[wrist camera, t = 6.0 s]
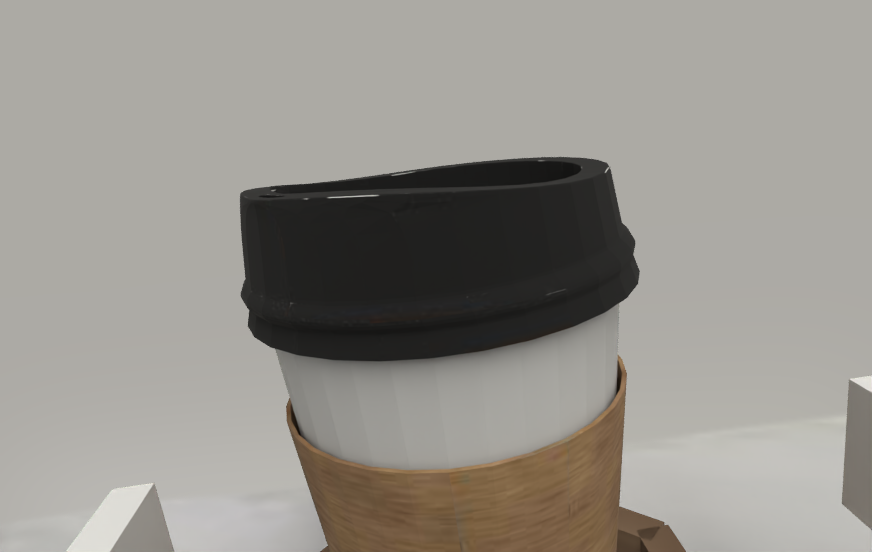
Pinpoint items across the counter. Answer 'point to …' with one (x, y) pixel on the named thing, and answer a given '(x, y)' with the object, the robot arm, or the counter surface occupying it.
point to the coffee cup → (450, 351)
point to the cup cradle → (639, 534)
